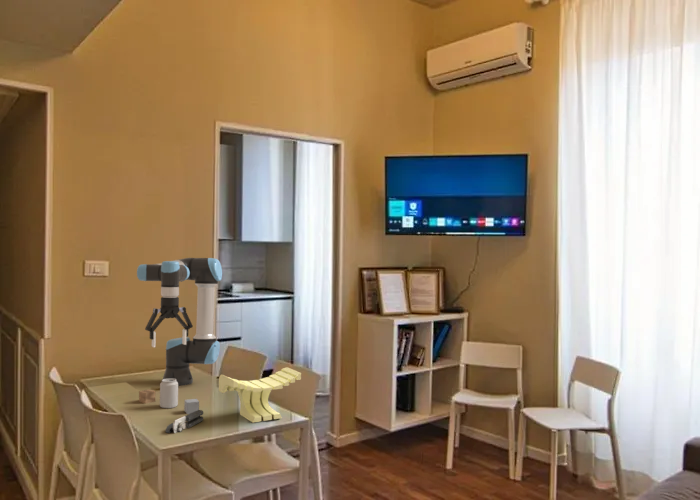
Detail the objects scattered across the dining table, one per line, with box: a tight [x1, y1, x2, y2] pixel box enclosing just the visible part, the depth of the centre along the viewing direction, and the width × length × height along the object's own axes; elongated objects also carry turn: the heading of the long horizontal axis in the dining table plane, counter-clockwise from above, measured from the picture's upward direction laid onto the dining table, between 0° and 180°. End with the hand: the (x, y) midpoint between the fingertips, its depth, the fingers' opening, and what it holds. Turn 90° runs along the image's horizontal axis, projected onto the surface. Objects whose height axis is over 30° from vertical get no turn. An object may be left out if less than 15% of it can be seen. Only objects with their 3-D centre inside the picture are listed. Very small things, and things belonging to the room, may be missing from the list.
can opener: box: [165, 409, 204, 434], centre depth 234 cm, size 19×6×5 cm, turn 159°
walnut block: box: [138, 389, 157, 404], centre depth 268 cm, size 5×5×5 cm
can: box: [159, 378, 179, 409], centre depth 261 cm, size 8×8×12 cm
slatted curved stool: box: [218, 366, 302, 423], centre depth 251 cm, size 30×16×18 cm, turn 123°
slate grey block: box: [183, 398, 200, 415], centre depth 254 cm, size 5×5×5 cm
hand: (169, 345), depth 261 cm, fingers open, 13 cm apart
